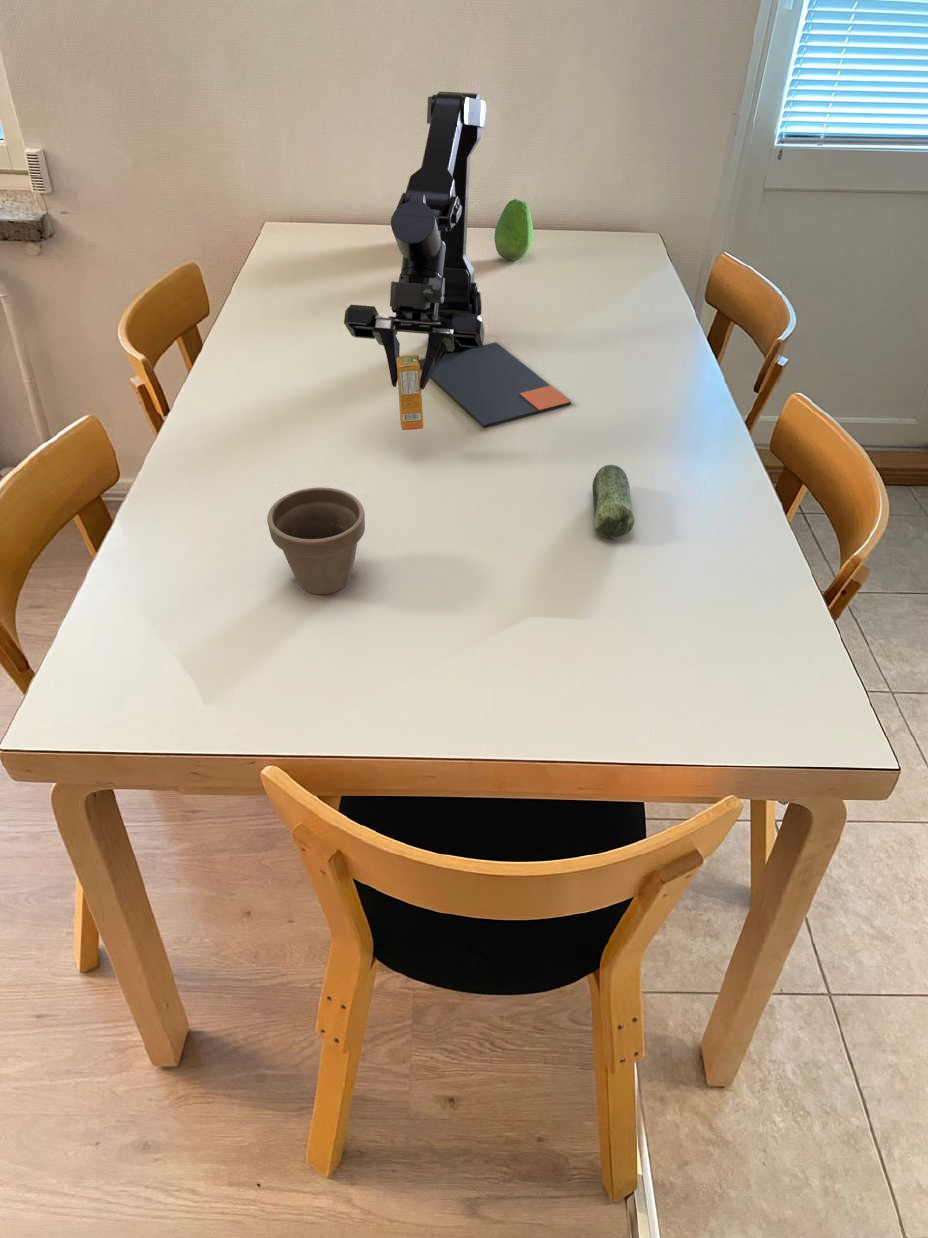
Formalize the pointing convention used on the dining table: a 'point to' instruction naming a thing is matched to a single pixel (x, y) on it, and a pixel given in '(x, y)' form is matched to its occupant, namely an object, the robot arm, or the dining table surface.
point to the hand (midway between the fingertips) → (407, 387)
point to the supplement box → (410, 392)
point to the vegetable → (612, 502)
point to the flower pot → (318, 536)
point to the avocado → (514, 231)
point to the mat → (494, 385)
